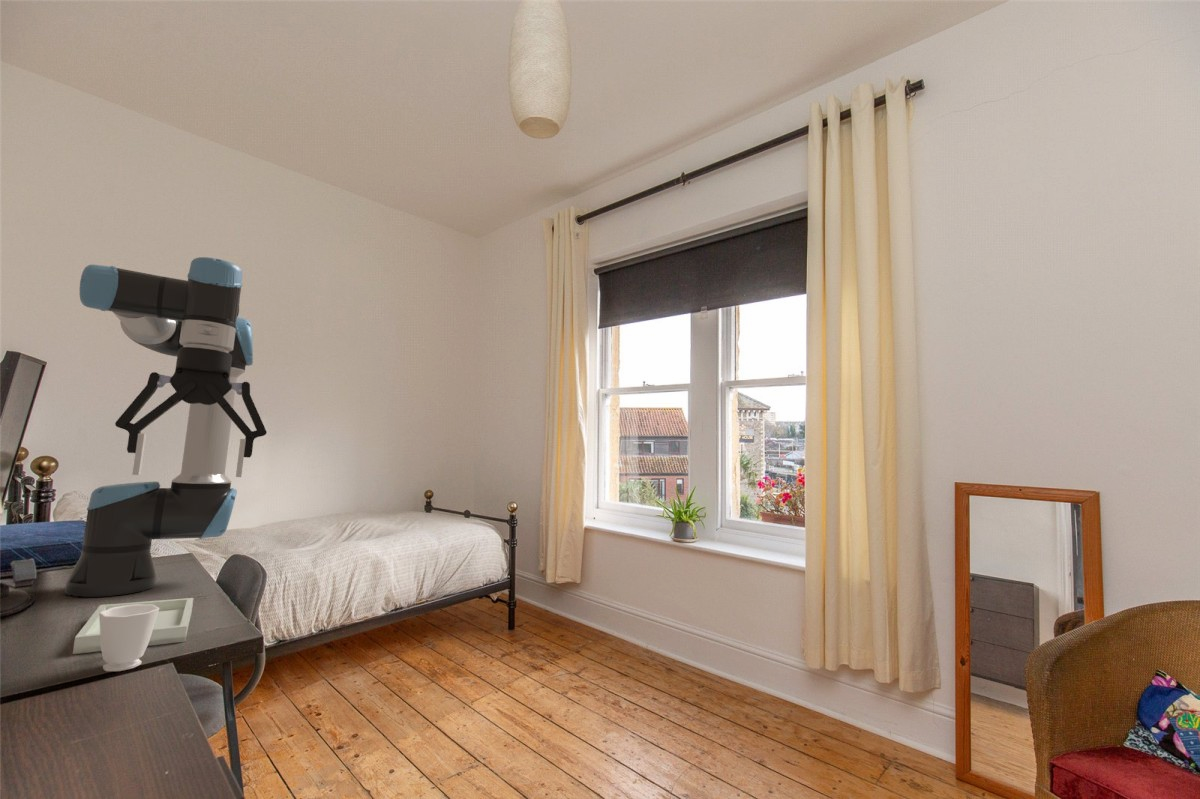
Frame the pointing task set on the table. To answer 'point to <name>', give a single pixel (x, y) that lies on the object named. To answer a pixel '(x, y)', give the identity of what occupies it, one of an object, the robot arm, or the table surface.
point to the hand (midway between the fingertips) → (189, 475)
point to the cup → (126, 634)
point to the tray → (166, 628)
